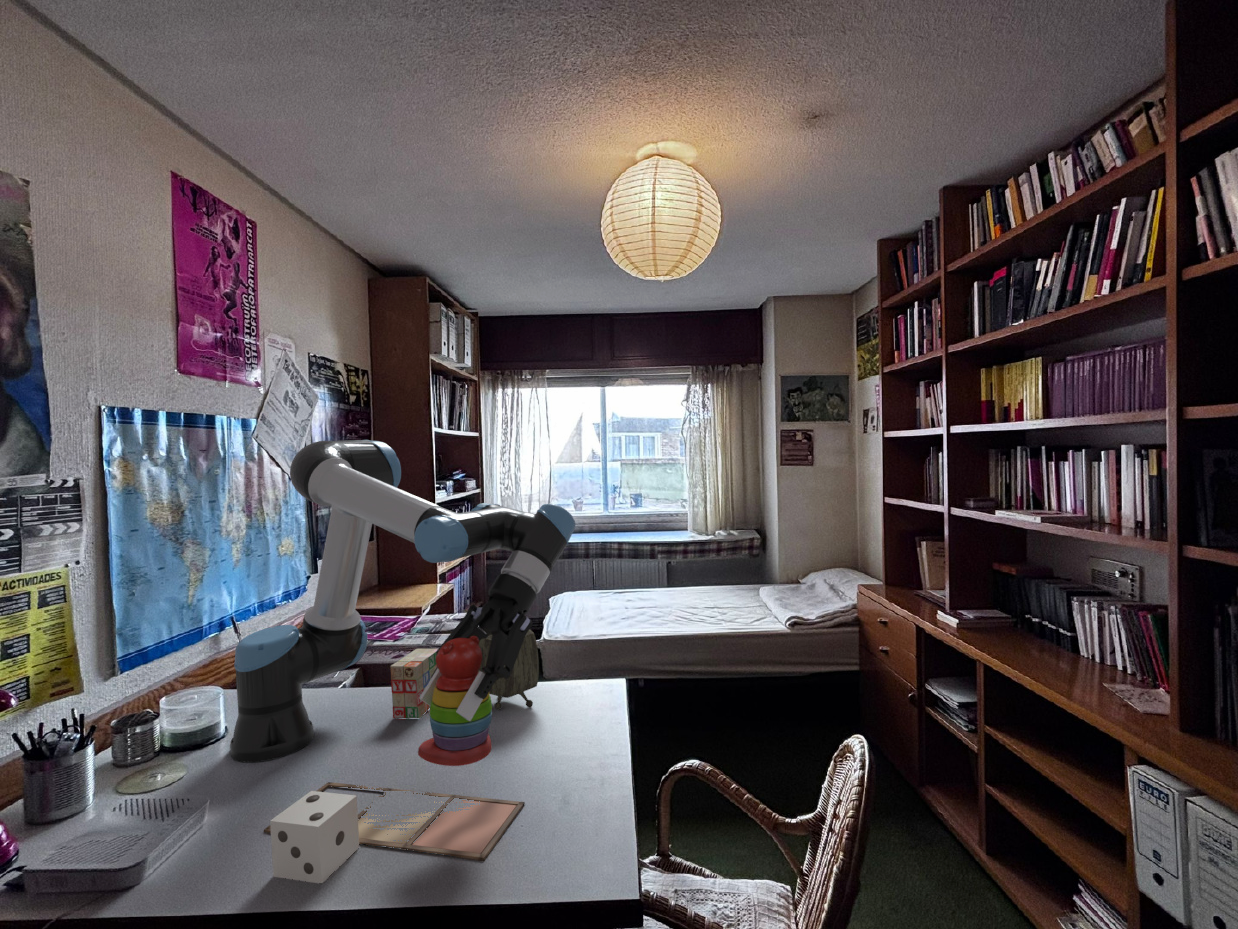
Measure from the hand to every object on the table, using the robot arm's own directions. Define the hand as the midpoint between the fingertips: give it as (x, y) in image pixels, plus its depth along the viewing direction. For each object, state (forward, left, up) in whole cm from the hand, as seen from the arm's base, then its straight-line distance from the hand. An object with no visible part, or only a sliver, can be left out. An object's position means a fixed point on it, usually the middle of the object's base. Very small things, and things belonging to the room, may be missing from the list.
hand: (444, 709), depth 96 cm
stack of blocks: (-34, +48, -20) cm, 62 cm away
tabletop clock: (-13, +48, -20) cm, 54 cm away
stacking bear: (+1, +3, -8) cm, 9 cm away
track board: (-11, +3, -19) cm, 23 cm away
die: (-16, -9, -20) cm, 27 cm away
